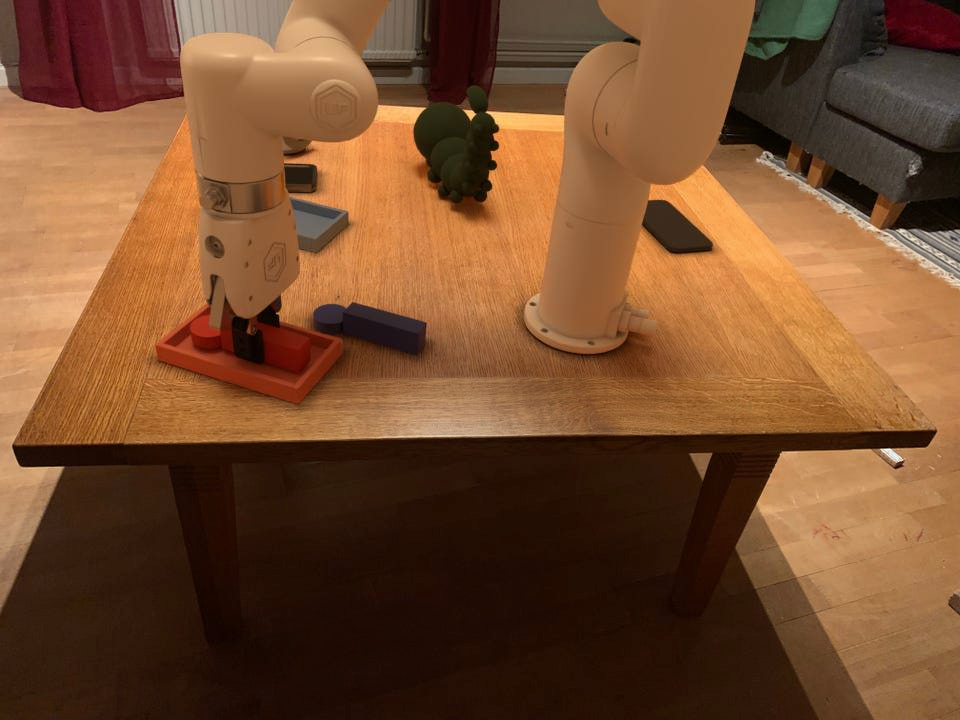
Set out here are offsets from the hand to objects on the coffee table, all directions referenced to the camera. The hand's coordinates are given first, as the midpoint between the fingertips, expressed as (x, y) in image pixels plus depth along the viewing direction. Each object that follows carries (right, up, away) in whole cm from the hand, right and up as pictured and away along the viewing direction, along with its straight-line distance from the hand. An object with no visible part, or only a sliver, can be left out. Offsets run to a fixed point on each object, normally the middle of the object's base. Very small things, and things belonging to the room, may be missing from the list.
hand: (258, 349), depth 77 cm
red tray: (-1, -1, +1) cm, 2 cm away
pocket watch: (-8, +33, +45) cm, 56 cm away
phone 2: (+51, +19, +35) cm, 65 cm away
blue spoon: (+10, +2, +6) cm, 12 cm away
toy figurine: (+18, +26, +40) cm, 51 cm away
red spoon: (-1, 0, 0) cm, 1 cm away
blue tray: (-4, +18, +24) cm, 30 cm away
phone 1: (-9, +26, +35) cm, 44 cm away
